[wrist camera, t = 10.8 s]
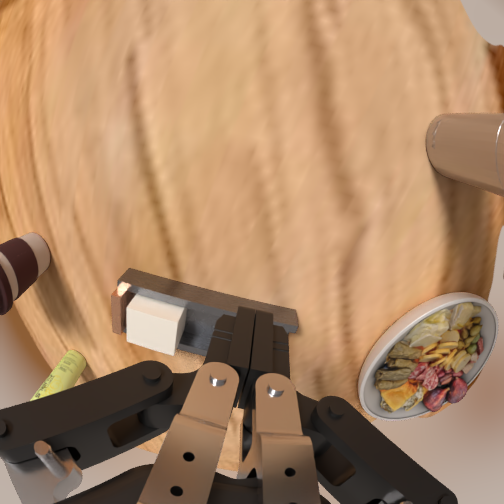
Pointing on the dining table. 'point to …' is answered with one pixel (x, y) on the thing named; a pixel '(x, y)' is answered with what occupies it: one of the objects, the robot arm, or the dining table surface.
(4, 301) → the coffee cup
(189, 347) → the chute
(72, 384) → the tube
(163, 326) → the block
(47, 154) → the dining table surface
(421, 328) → the bowl
